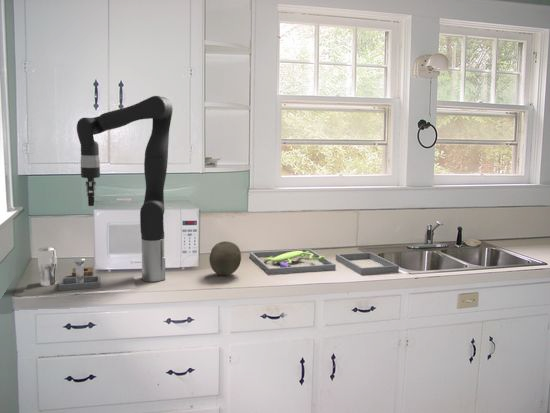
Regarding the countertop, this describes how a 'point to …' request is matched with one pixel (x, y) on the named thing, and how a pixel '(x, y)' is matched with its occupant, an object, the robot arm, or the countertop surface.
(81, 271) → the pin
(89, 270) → the pin block
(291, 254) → the figurine
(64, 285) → the tray
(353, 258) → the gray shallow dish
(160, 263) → the robot arm
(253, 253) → the grey open box
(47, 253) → the beer glass
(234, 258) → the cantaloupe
